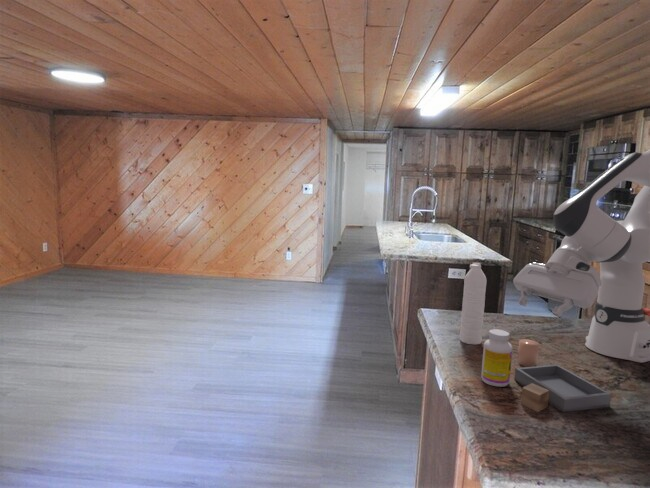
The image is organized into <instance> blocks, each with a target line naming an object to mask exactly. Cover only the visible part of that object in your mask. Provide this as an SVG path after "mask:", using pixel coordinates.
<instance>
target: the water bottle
mask: <svg viewBox="0 0 650 488" xmlns="http://www.w3.org/2000/svg"><path fill="white" fill-rule="evenodd" d="M481 264H482V263H480V262H472V264H469V270H468V271H467V273H466V274H465V275H464V279H463V281H464V282H463V283H464V284H463V294H462V295H463V296H462V305H461V307H462V308H461V317H460V318H461V319H460V330H459V331H460V332H459V341H460V342H462V343H463V344H467V345H481V344H482V340H483V327H484V315H485V303H486V302H485V301H486V292H487V290H486V289H487V277H486V274H485V273H484V271H483V270H482V265H481Z"/></svg>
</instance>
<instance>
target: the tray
mask: <svg viewBox="0 0 650 488" xmlns="http://www.w3.org/2000/svg"><path fill="white" fill-rule="evenodd" d="M514 381H516V382H518V383H519V384H521V385H522V386H523V387H525V386H527V385H529V384H532V383H533V384H535V385H538V386H540V387H542V388H545V389H547V390H549V399H548V404H551V406H553V407H554V408H557V409H558V410H559V411H561V412H562V413H571V412H577V411H585V410H592V409H594V410H595V409H600V408H608V407H611V400H612V399H611V398H612V393H611V392H609V391H607V390H605V389H603V388H601V387H600V386H597V385H596V384H594V383H592V382H590V381H588V380H587V379H585V378H583V377H581V376H579V375H578V374H576V373H574V372H572V371H570V370H569V369H568V368H565V367H563V366H561V365H559V364H557V363H556V364H546V365H537V366H534V367H526V366H522V367H516V368H515V371H514Z"/></svg>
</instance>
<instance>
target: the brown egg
mask: <svg viewBox="0 0 650 488" xmlns="http://www.w3.org/2000/svg"><path fill="white" fill-rule="evenodd" d="M539 347H540V343H539V342H537V341H535V340H531V339H527V338H524V339H519V341H518V349H517V360H516V361H517V364H519V365H521V366H522V367H534V366H538V359H539V350H540V348H539Z"/></svg>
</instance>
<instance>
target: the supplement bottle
mask: <svg viewBox="0 0 650 488" xmlns="http://www.w3.org/2000/svg"><path fill="white" fill-rule="evenodd" d="M488 337H489V339H485V341H484V343H483V351H482V352H483V353H482V361H481V362H482V363H481V374H480V376H481V377H480V378H481V381H482V382H484V383H485V384H487V385H490V386H492V387H499V388H501V387H507V386H508V385H509V384H510V381H511V369H512V357H513V345H512V344H511V343H510V342H509V340H510V332H509V331H506V330H504V329H503V330H502V329H497V328H496V329H495V328H492V329H490V330H489V331H488Z"/></svg>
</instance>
